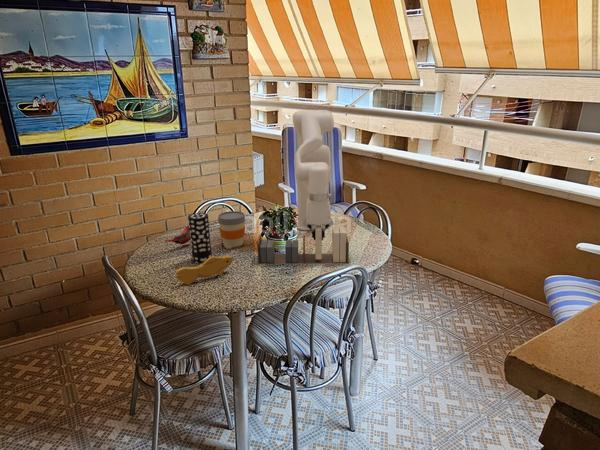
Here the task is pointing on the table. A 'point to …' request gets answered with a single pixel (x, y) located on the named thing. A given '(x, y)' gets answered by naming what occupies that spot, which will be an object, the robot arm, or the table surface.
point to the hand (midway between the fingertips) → (318, 238)
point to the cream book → (318, 241)
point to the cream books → (339, 244)
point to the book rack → (303, 256)
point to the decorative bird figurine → (181, 237)
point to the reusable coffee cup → (232, 228)
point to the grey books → (268, 251)
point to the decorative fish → (204, 269)
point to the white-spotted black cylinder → (200, 237)
